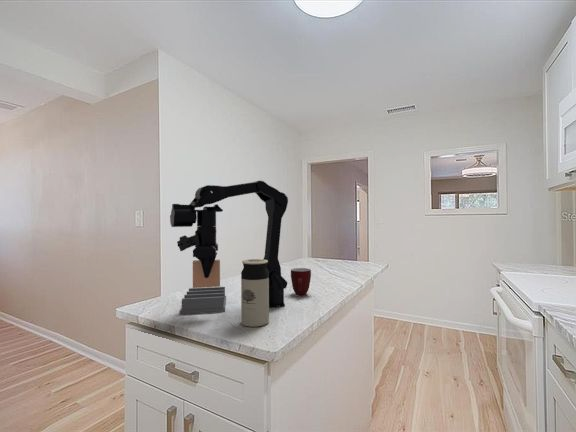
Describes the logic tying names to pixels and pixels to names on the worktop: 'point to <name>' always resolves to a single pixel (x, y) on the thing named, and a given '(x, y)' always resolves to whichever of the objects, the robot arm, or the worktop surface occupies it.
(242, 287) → the travel mug
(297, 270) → the mug
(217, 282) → the tile
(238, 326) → the worktop surface
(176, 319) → the worktop surface
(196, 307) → the coaster holder
